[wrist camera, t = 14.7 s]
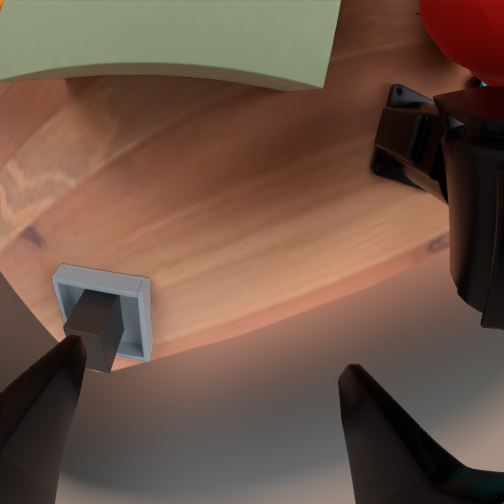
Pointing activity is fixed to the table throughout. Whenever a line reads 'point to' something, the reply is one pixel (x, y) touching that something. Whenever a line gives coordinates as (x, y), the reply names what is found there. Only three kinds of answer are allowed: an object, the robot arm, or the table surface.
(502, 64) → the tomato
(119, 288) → the dish
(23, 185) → the table surface
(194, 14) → the cabinet
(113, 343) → the charcoal rectangular block
